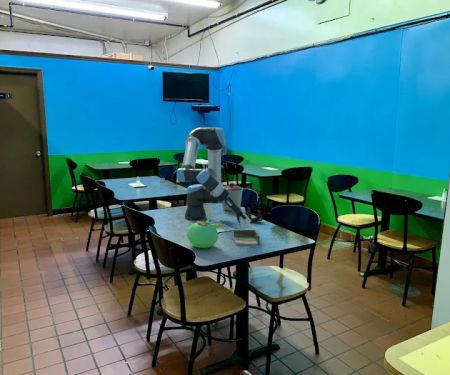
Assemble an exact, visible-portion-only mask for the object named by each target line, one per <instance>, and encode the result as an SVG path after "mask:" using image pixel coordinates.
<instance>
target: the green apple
mask: <svg viewBox="0 0 450 375" xmlns="http://www.w3.org/2000/svg"><path fill="white" fill-rule="evenodd" d="M223 225H224V223H222V222H221V223H211V221H210V220H209V219H208V220H206V221H202V220H196V222H194V223H192V224H191V225H189V228H188V229H187V233H186V236H187V241H189V243H190V244H191V245H192V246H193V247H196V248H198V249H208V248H210V247H213V246H214V245H215V244H216V243H217V241H218V239H219V233H218V229H217V228H219V227H221V226H223Z"/></svg>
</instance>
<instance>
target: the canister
mask: <svg viewBox="0 0 450 375" xmlns="http://www.w3.org/2000/svg"><path fill="white" fill-rule="evenodd" d="M223 187H225V189H226V190H227V191H228V192H229V195H228V196H227V197H230V198H231V199H232V201H233V202H234V203H235V204H236V205H237V206H238V207H241V203H242V198H243V197H242V196H243V191H244V188H243V187H241V186H239V185H235V184H234V182H230V183H229V185H223ZM221 205H222V208H223V210H224V211H227V212H234V211H233V210H232V209H231V208H230V207H229V206H228V205H226V204H225V201H223V203H221Z"/></svg>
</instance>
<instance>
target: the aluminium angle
mask: <svg viewBox="0 0 450 375" xmlns="http://www.w3.org/2000/svg"><path fill="white" fill-rule="evenodd" d="M239 210H240V211H241V212H243V213H244V214H245V212H246V208H245V207H244V206H240V207H239ZM238 226H239V229H253V225H252V224H251V223H249V224H247V223H246V222H245V221H244V220H243V219H242V218H241V217H239V221H238Z"/></svg>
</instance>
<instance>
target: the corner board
mask: <svg viewBox="0 0 450 375" xmlns="http://www.w3.org/2000/svg"><path fill="white" fill-rule="evenodd" d="M233 240H234V243H235V246H236V247H238V246H239V247H241V246H242V247H244V246H260V243H259V245H258V243H257V241H256V239H255V238H254V237H234V236H233Z"/></svg>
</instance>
